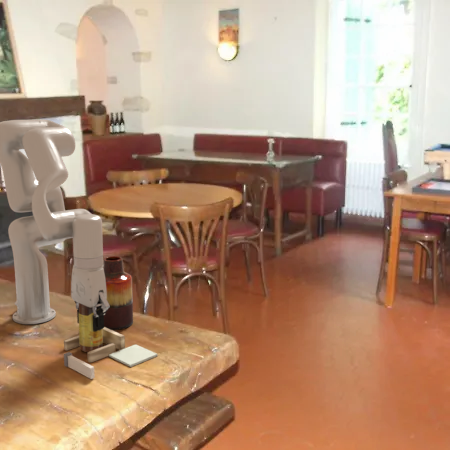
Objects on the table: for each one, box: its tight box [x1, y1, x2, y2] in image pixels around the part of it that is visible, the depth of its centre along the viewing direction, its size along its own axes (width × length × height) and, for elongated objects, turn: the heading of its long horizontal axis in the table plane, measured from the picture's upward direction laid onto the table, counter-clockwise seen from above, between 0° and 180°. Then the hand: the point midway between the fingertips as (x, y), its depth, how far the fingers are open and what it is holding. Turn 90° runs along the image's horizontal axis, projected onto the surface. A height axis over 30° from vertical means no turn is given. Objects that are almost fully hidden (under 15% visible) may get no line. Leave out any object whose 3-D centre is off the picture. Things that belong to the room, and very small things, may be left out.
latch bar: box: [63, 351, 96, 380], centre depth 148 cm, size 11×2×3 cm, turn 48°
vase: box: [103, 255, 134, 331], centre depth 178 cm, size 11×11×20 cm
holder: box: [63, 327, 126, 363], centre depth 161 cm, size 12×11×4 cm
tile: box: [108, 344, 158, 368], centre depth 158 cm, size 9×9×1 cm
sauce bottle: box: [78, 302, 103, 353], centre depth 159 cm, size 7×6×20 cm
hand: (90, 325), depth 160 cm, fingers closed on sauce bottle, 6 cm apart
